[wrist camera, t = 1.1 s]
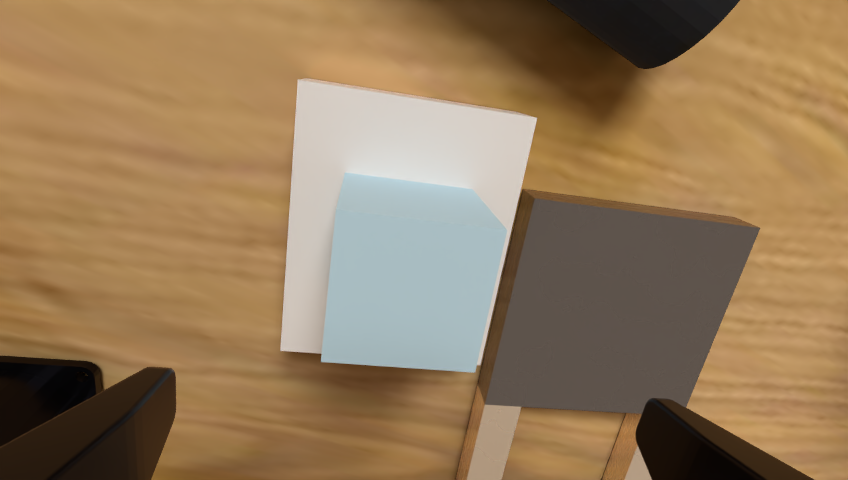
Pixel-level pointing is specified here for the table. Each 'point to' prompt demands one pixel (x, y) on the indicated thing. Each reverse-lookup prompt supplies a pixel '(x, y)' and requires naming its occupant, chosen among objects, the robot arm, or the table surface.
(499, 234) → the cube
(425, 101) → the stand
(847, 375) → the table surface
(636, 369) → the plate
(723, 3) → the pipe connector
